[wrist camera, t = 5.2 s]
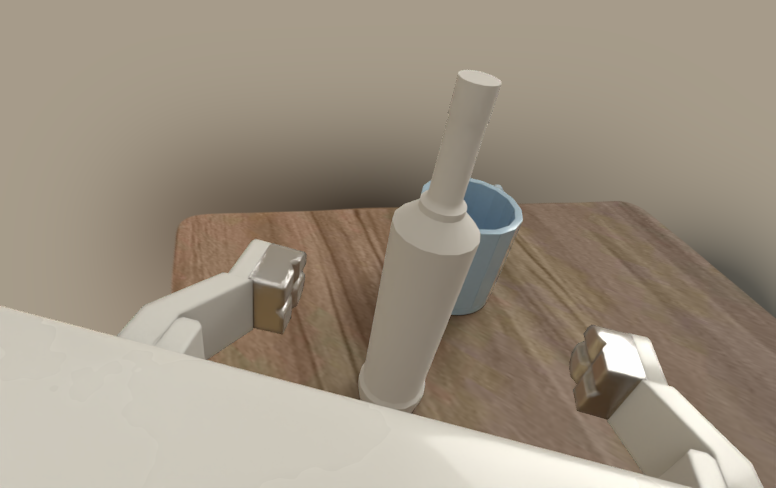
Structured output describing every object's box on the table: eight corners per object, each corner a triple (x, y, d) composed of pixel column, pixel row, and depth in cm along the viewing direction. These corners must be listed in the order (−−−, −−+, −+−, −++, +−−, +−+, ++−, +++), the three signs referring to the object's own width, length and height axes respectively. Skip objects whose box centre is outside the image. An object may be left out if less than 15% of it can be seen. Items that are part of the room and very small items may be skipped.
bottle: (347, 373, 37) (406, 55, 22) (405, 359, 39) (496, 61, 24) (369, 430, 33) (458, 99, 18) (431, 412, 35) (558, 101, 20)
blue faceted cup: (466, 330, 43) (499, 248, 37) (384, 283, 46) (402, 200, 40) (514, 264, 52) (547, 190, 46) (443, 228, 55) (465, 154, 49)
